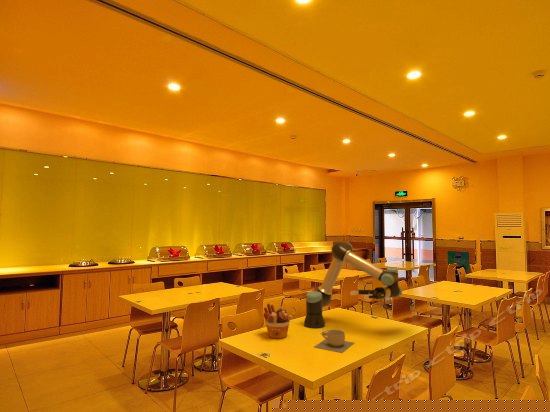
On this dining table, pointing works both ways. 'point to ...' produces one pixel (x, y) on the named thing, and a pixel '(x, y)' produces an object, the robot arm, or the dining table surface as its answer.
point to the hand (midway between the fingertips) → (357, 295)
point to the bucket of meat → (276, 322)
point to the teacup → (335, 337)
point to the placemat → (327, 346)
